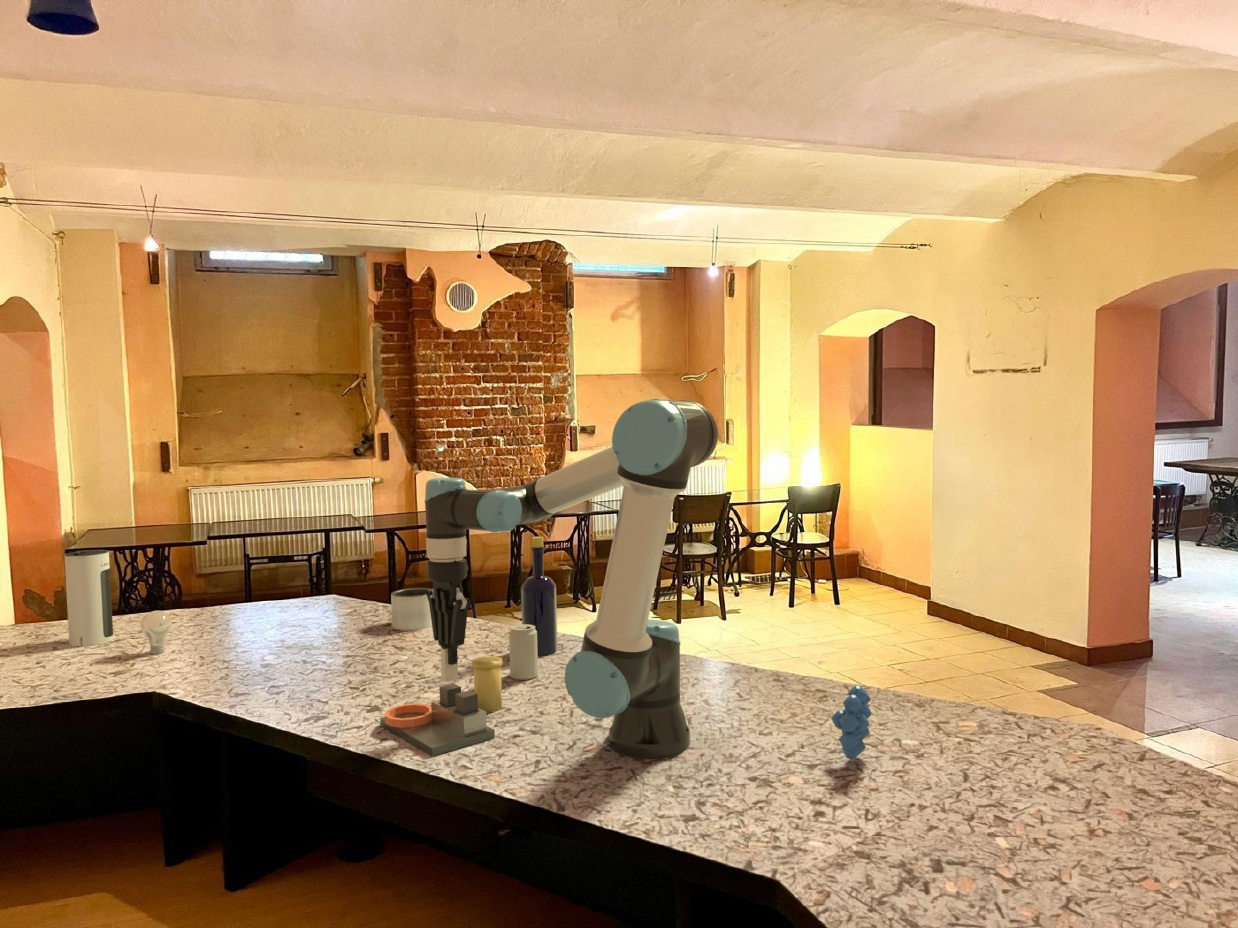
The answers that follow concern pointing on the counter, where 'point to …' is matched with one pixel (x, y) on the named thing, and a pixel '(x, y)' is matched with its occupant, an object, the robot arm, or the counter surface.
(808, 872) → the counter surface
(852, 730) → the grapes
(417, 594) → the planter
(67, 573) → the speaker
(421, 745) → the breaker panel
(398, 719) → the orange ring
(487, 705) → the cap
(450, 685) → the block
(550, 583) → the bottle
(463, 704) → the block
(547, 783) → the counter surface
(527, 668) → the beverage can
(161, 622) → the light bulb
